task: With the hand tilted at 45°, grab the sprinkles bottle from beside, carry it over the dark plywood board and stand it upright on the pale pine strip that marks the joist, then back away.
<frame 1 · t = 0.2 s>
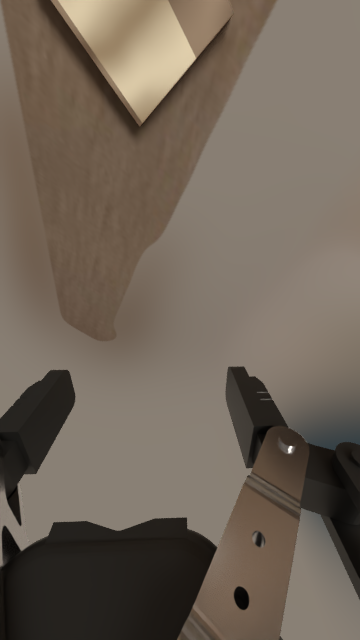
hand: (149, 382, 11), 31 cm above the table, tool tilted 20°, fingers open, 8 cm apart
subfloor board: (139, 0, 21), on the table
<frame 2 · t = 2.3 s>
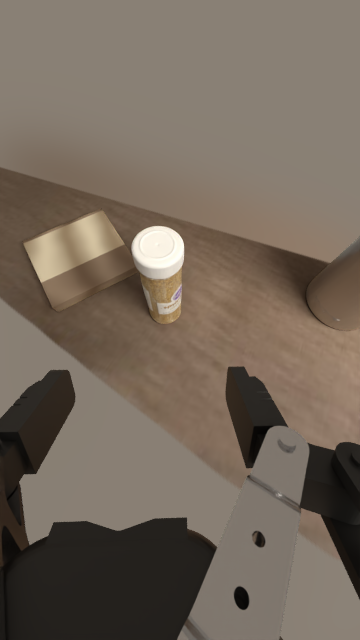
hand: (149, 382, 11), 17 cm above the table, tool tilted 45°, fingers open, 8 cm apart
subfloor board: (83, 259, 34), on the table
sprinkles bottle: (165, 310, 31), on the table
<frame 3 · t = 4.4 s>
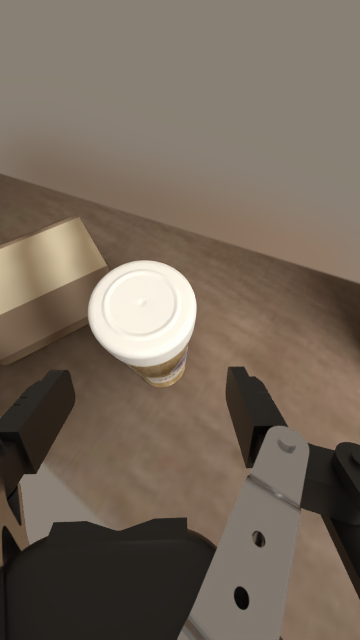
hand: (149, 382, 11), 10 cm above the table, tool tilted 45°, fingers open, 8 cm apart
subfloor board: (49, 285, 24), on the table
sprinkles bottle: (162, 363, 21), on the table
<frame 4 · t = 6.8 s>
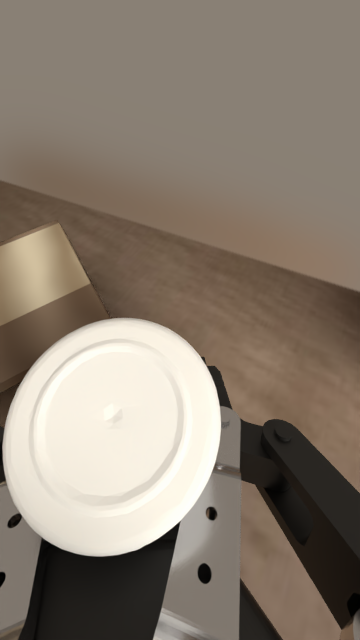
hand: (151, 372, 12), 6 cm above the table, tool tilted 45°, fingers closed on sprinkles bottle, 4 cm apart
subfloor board: (21, 307, 20), on the table
sprinkles bottle: (159, 408, 17), on the table, touching gripper
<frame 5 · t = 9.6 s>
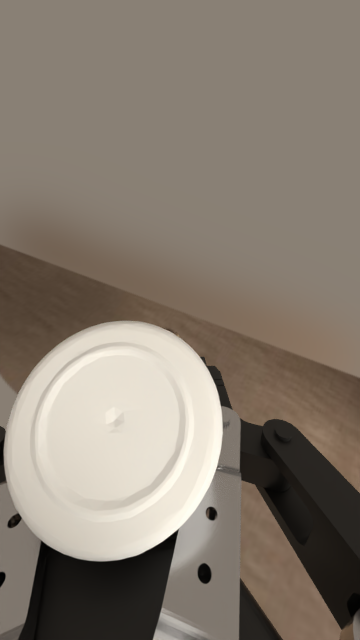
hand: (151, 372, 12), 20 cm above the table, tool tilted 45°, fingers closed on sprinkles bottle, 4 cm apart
sprinkles bottle: (159, 410, 17), point 14 cm above the table, touching gripper
when the fingers open (9 cm above the table, at t = 12.8 s): sprinkles bottle drops 1 cm, resting on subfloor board.
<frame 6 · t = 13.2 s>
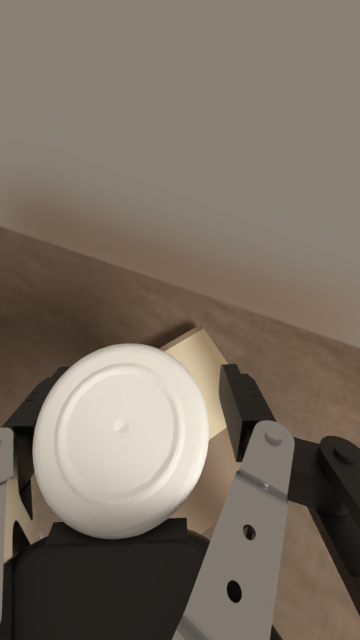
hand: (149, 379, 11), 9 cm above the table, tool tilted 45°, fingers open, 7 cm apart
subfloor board: (177, 426, 19), on the table
sprinkles bottle: (159, 411, 18), point 1 cm above the table, touching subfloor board
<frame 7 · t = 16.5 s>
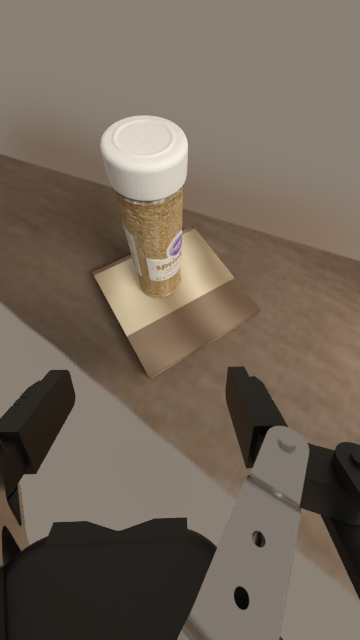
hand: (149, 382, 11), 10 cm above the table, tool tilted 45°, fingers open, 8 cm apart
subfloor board: (174, 297, 24), on the table
sprinkles bottle: (160, 281, 24), point 1 cm above the table, touching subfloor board
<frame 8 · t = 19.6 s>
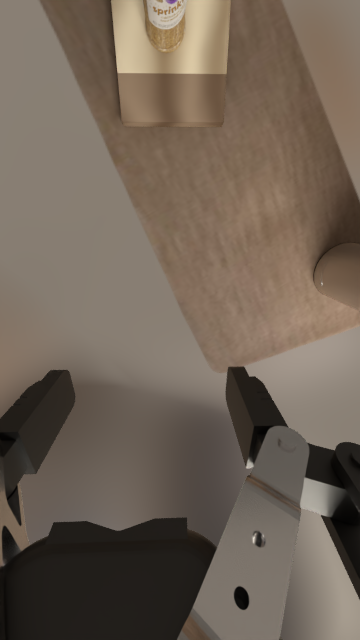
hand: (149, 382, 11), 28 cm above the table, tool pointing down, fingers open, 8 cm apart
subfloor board: (171, 58, 27), on the table
sprinkles bottle: (165, 28, 25), point 1 cm above the table, touching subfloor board
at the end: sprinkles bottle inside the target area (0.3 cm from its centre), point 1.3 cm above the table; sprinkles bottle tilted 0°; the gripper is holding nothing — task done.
